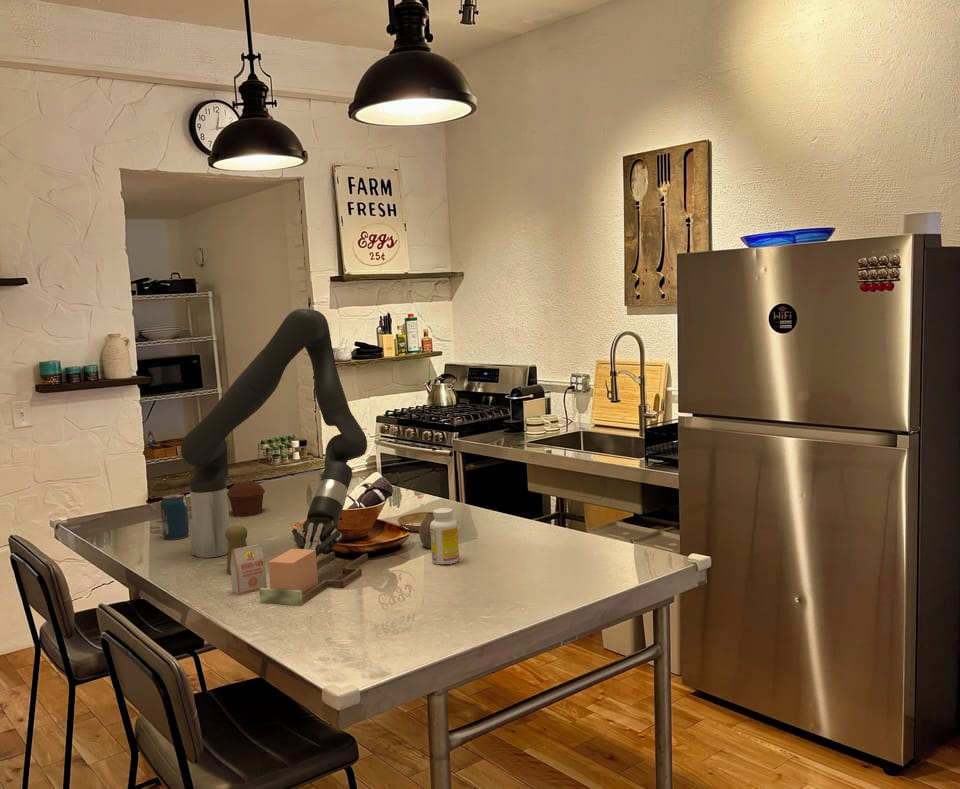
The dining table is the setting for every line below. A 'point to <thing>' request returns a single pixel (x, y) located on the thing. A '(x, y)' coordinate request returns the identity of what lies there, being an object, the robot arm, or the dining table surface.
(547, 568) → the dining table surface
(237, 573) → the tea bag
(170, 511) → the soda can
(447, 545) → the supplement bottle
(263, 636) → the dining table surface
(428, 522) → the vase
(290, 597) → the trap lane
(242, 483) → the muffin
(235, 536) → the olive ball-topped cylinder
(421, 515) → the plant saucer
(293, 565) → the terracotta block
